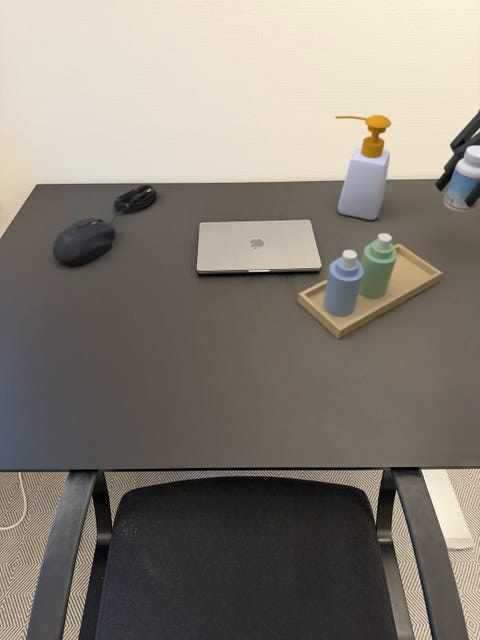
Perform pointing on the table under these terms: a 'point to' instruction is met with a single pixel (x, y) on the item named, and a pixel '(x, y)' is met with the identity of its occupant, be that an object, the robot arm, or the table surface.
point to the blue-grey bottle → (343, 285)
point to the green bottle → (377, 267)
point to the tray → (403, 285)
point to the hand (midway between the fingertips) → (452, 195)
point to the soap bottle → (366, 173)
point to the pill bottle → (464, 181)
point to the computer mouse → (96, 230)
